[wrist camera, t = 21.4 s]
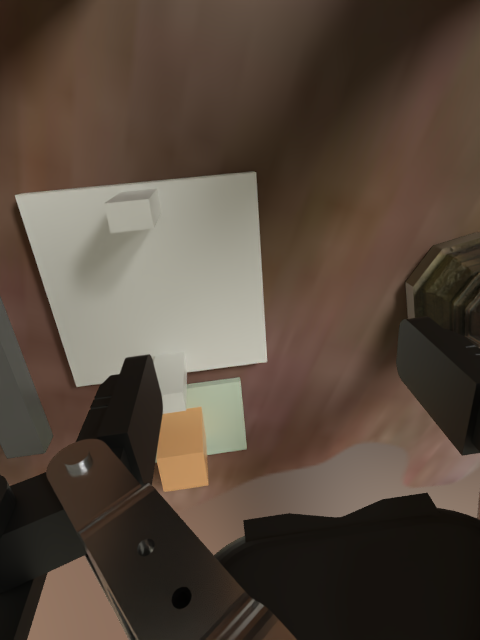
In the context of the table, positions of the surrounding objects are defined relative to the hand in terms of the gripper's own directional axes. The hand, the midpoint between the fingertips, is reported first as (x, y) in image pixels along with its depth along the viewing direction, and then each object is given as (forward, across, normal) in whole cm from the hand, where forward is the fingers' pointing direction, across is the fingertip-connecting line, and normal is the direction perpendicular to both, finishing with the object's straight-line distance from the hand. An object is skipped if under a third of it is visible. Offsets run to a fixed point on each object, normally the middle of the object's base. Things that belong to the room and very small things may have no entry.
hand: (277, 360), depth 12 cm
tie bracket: (+25, +8, +6) cm, 27 cm away
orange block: (+24, +8, +24) cm, 35 cm away
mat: (+25, +8, +23) cm, 35 cm away
